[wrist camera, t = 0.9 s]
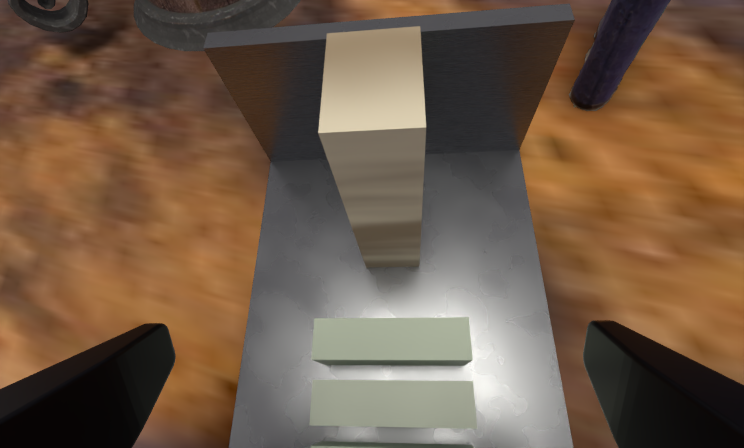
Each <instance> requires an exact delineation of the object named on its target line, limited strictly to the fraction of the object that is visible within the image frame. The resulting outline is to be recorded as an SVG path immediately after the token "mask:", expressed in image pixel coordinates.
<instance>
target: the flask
mask: <svg viewBox="0 0 744 448" xmlns="http://www.w3.org/2000/svg"><path fill="white" fill-rule="evenodd" d="M669 2H670V0H612V1H611V3H610V5H609V7H608V9H607V11H606V13H605V15H604V17H603V18H602V19H601V21H600V23H599V26H598V30H597V32H596V33H595V34H594V37H595V41H594V43H593V46H592V47H591V49H589V50H588V53H587V54H586V57H585V61H586V62H585V63H584V66H583V68H582V69H581V70H580V73H579V76H578V77H577V79H576V81H575V83H574V86H573V87H572V90H571V92H570V94H569V96H570V99H571V101H572V102H573V104H574V107H578V108H580V109H583V110H586V111H596V110H598V109H600V108H602V107H603V106H604V104H606V103H607V102H608V101H609V100H610V98H611V97H612V95H613V94H614V92H615V91H616V90H617V88H618V85H619V84H620V82H621V80H622V77H623V75H624V73H625V72H626V70H627V69H628V67H629V66H630V64H631V63H632V61H633V60H634V58H635V57H636V55H637V53H638V51H639V49H640V47H641V46H642V44H643V43H644V41H645V40H646V38H647V36H648V35H649V33H650V32H651V31H652V29H653V28H654V26H655V24H656V22H657V21H658V20H659V18H660V17H661V15H662V13H663V12H664V10H665V9H666V7H667V5H668V4H669Z"/></svg>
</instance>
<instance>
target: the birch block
mask: <svg viewBox="0 0 744 448" xmlns="http://www.w3.org/2000/svg"><path fill="white" fill-rule="evenodd" d="M318 134H319V137H320V140H321V142H322V145H323V148H324V151H325V154H326V156H327V159H328V162H329V165H330V168H331V170H332V173H333V176H334V179H335V182H336V185H337V187H338V190H339V193H340V196H341V199H342V201H343V204H344V207H345V210H346V213H347V216H348V218H349V221H350V224H351V227H352V230H353V232H354V235H355V238H356V241H357V244H358V246H359V249H360V252H361V255H362V258H363V261H364V263H365V266H366V268H367V267H418V266H419V263H420V243H421V223H422V203H423V183H424V162H425V142H426V115H425V98H424V82H423V65H422V48H421V32H420V26H416V27H403V28H390V29H377V30H365V31H352V32H339V33H327V39H326V50H325V62H324V73H323V84H322V96H321V107H320V119H319V130H318Z"/></svg>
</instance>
